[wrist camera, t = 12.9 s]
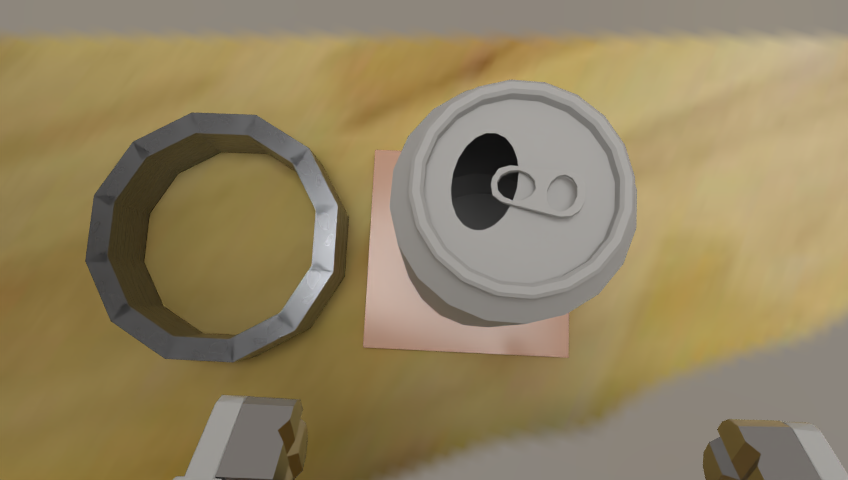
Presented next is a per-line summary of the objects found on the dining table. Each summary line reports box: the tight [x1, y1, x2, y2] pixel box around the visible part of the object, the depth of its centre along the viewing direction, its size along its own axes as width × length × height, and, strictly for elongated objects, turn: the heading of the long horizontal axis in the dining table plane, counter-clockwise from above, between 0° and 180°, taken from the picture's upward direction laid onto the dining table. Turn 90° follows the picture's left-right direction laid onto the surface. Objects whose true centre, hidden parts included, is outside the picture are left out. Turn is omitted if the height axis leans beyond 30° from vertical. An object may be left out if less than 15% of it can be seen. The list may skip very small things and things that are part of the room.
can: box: [389, 80, 637, 327], centre depth 20 cm, size 8×8×12 cm
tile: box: [363, 150, 569, 358], centre depth 26 cm, size 10×10×1 cm
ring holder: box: [85, 113, 349, 362], centre depth 26 cm, size 12×12×3 cm
